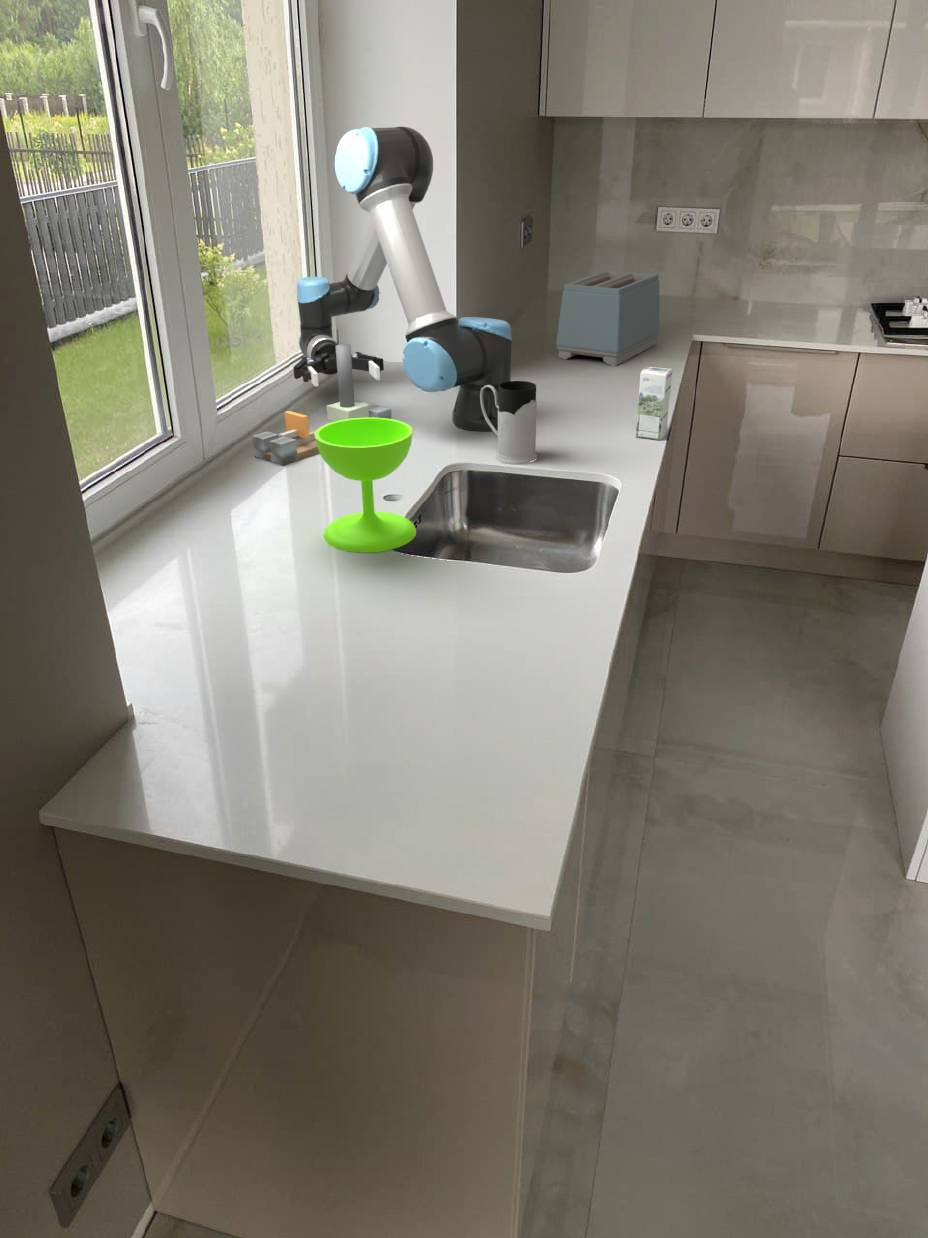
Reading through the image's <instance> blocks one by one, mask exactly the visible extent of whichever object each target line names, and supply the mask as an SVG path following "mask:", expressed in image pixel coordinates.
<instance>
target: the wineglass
mask: <svg viewBox="0 0 928 1238" xmlns="http://www.w3.org/2000/svg"><path fill="white" fill-rule="evenodd" d="M315 430H316V429H315ZM314 435H315V440H316V444H317V448H318V450H319V452H320V453H319V454H320V456H321V457H322V459H323V462H324V463H326V465H328V467H330V469H331V470H333V471H334V472H335V473H337V474H338V475H341V476H342V477H344V478H345V479H349V480H353V481H357V482H358V481H359V482H360V484H361V500H362V501H361V502H362V511H361V512H355V513H351V514H347V515H344V516H341V517H339V518H337V519H335V520H333V521H331V523H329V524H328V526H326V528H325V530H324V534H323V539H324V541H325V543H326V544H328V545H329V546H331V547H332V548H334V549H338V550H340V551H345V552H351V553H364V554H365V553H367V554H368V553H377V552H378V553H379V552H386V551H390V550H396V549H398V548H400V547H402V546H405V545H407V544H408V543H410V542H411V541H413V540H414V538H415V537H416V536H417V528H416V527H415V525H414V523H413V522H412V521H411V520H409V519H408V518H407V517H405V516H403V515H400V514H397V513H391V512H388V511H387V512H386V511H375V500H374V483H373V482H374V481H375V480H380V479H384V478H385V477H387V476H389V475H390V474H392V473H393V472H394V471H396V470H397V469H398V468H399V467H400V466H401V465H402V463H403V462H404V460H405V459H406V458H407V456H408V454H409V451H410V448H411V447H412V438H413V428H412V426H411V425H409V424H407V423H406V422H403V421H401V420H397V419H393V418H391V419H387V418H353V419H345V420H340V421H333V422H329V423H326V424H324V425H322V426H320V427H318V428H317V430H316V432H315V434H314Z"/></svg>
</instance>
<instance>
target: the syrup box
mask: <svg viewBox="0 0 928 1238" xmlns="http://www.w3.org/2000/svg"><path fill="white" fill-rule="evenodd" d="M639 376H640V377H639V388H638V390H639V391H638V401H637V415H636V417H637V418H636V427H635V438H639V439H646V440H647V439H648V440H657V441H661V440H663V438H664V437H665V436H666V434H667V432H668V419H669V407H670V400H671V399H670V397H671V387H672V381H673V380H672V377H673V369H672V368H667V367H666V368H664V367H657V366H656V367H655V366H654V367H653V366H646V367H644V368H643V369H642V371H640V375H639Z"/></svg>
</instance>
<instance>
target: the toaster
mask: <svg viewBox="0 0 928 1238" xmlns="http://www.w3.org/2000/svg"><path fill="white" fill-rule="evenodd" d="M563 286H564V287H563V288H564V289H563V290H562V296H561V304H560V312H559V319H558V326H557V327H558V328H557V335H556V336H557V337H556V344H555V345H556V350H558V358H559V357H564V358H570V359H571V357H572V358H574V357H576V356H578V355H580V356H588V357H595V358H602V359H603V360H602V361H603V363H604V364H606V365H607V366H609V365H614V366H613V367H617V366H619V365H620V363H621V364H622V362H623V363H624V362H627V361H628V360H630V359H632V358H633V356H634V357H636V356H637V354H638V355H640V354H641V353H643V351H644V352H646V351H647V350H649V349H651V348H653V347H655V346H656V345H657V338H659V336H660V335H659V334H660V325H661V324H660V280H659V274H657V273H644V272H635V271H634V272H631V271H620V270H609V269H608V270H604V271H600V272H597V273H594V274H592V275H589V276H586V277H583V278H580V279H577V280H574V281H571V282H567V283H565V284H564V285H563ZM654 345H655V346H654ZM652 346H653V347H652ZM577 354H578V355H577ZM575 355H576V356H575ZM635 355H636V356H635ZM573 356H574V357H573ZM618 364H619V365H618Z"/></svg>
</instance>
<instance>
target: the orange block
mask: <svg viewBox="0 0 928 1238" xmlns="http://www.w3.org/2000/svg"><path fill="white" fill-rule="evenodd" d="M284 420H285V421H284V423H285V432H281V433H279V434H278V436H279V438H281V437H284V436H285V437H288V438H294V437H297V436H299V437H302V438H308V437H310V435H309V432H310V427H309V416H308V415H305V414H301V413H297V412H295V411H294V412H293V411H291V410H287V411H284Z"/></svg>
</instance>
